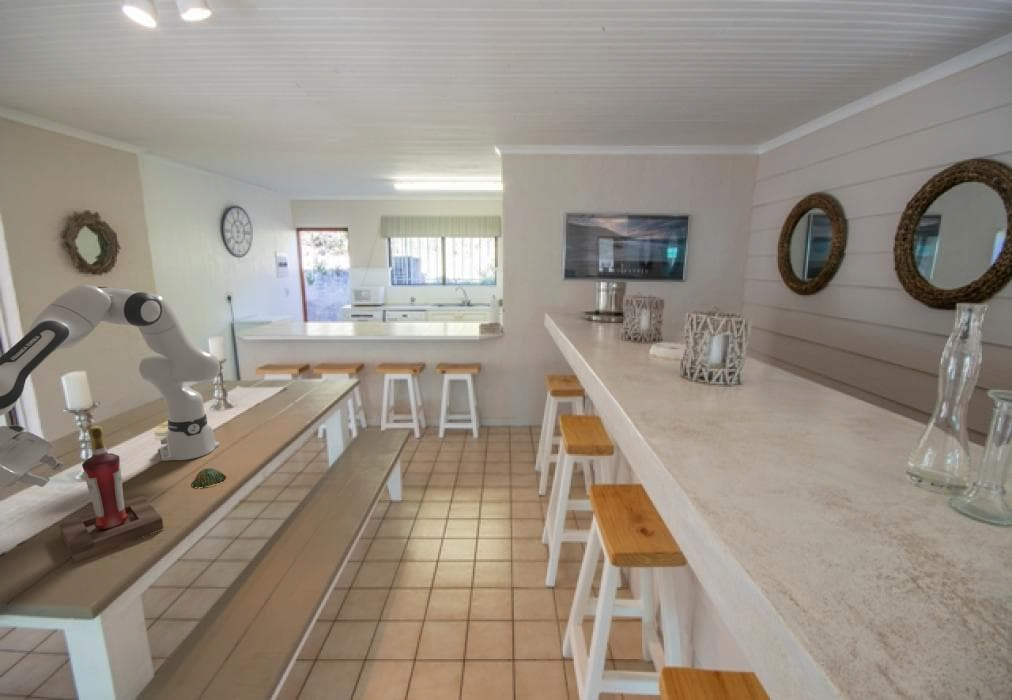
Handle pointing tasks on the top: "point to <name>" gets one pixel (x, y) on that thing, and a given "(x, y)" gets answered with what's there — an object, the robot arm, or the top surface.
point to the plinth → (94, 541)
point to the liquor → (104, 483)
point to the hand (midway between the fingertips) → (54, 475)
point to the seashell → (208, 478)
